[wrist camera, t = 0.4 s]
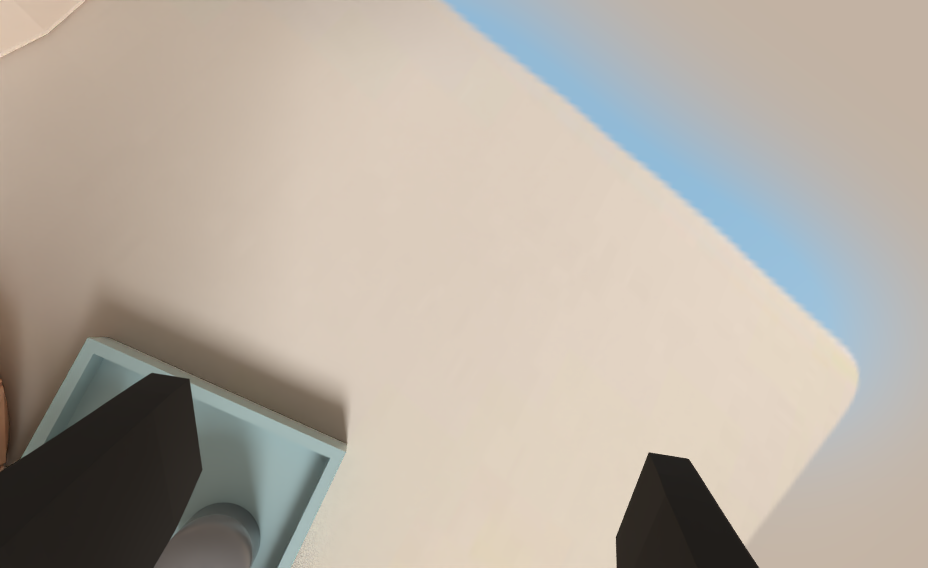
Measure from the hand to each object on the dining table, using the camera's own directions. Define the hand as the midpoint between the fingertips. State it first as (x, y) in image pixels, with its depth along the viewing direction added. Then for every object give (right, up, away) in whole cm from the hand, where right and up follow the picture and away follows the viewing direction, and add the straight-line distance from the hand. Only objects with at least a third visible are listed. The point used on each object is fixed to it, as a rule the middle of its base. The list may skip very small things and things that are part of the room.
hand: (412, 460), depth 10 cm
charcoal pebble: (-12, -11, +23) cm, 28 cm away
